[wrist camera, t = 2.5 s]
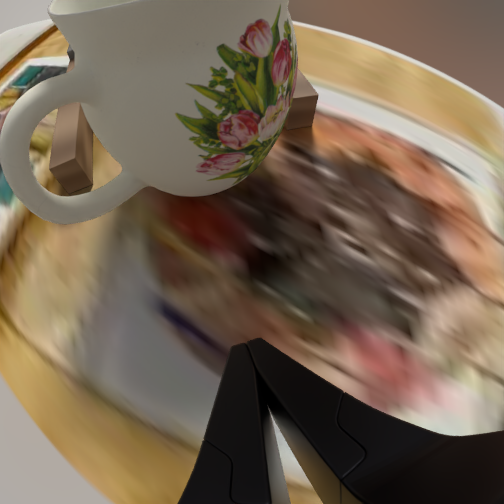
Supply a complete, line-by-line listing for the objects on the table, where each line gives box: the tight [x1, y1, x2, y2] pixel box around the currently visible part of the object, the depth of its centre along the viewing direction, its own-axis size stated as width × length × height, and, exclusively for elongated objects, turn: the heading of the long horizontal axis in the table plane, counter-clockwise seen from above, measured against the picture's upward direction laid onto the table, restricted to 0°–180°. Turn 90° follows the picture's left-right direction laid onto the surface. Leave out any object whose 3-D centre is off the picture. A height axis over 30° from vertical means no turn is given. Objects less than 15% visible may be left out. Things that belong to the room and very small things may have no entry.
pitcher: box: [0, 0, 298, 224], centre depth 13 cm, size 11×18×14 cm, turn 142°
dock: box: [49, 44, 318, 194], centre depth 21 cm, size 17×18×4 cm
